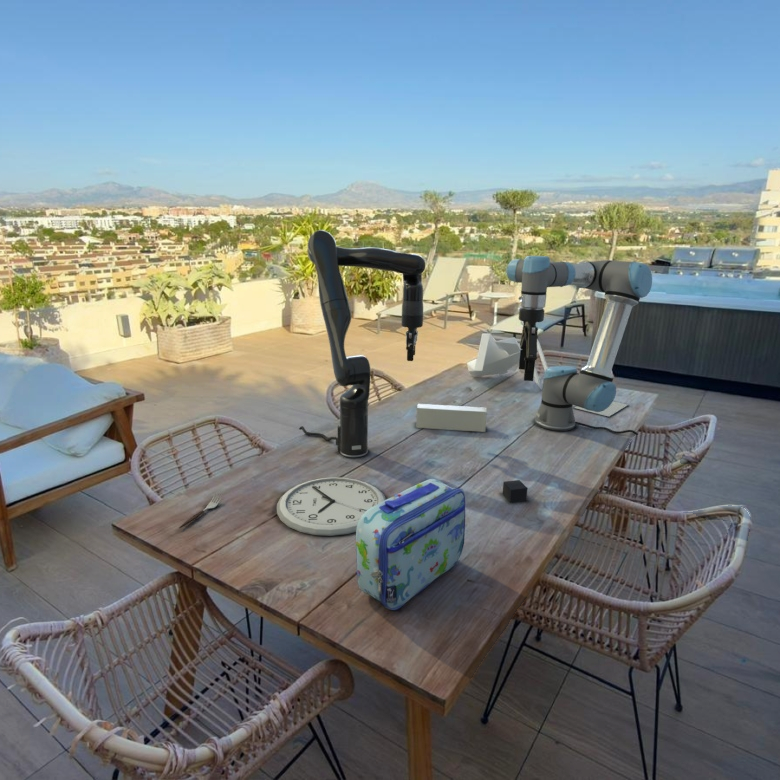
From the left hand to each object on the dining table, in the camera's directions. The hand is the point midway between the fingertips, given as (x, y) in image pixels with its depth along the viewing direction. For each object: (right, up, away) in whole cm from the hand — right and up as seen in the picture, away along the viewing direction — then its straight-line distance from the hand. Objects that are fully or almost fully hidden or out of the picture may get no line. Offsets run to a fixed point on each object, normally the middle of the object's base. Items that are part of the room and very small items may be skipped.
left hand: (411, 357), depth 188 cm
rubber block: (+28, -42, -39) cm, 64 cm away
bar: (+16, -26, +12) cm, 33 cm away
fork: (-57, -44, -51) cm, 88 cm away
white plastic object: (+50, -8, +70) cm, 86 cm away
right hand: (+36, -7, -21) cm, 42 cm away
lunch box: (-3, -53, -75) cm, 92 cm away
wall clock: (-23, -43, -45) cm, 66 cm away
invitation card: (+84, -19, +39) cm, 94 cm away
